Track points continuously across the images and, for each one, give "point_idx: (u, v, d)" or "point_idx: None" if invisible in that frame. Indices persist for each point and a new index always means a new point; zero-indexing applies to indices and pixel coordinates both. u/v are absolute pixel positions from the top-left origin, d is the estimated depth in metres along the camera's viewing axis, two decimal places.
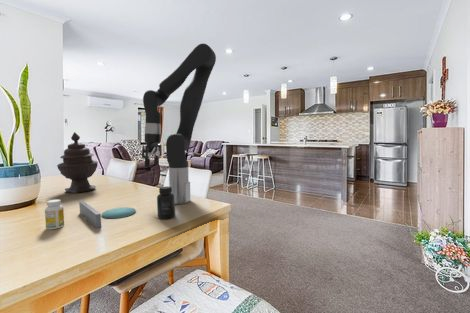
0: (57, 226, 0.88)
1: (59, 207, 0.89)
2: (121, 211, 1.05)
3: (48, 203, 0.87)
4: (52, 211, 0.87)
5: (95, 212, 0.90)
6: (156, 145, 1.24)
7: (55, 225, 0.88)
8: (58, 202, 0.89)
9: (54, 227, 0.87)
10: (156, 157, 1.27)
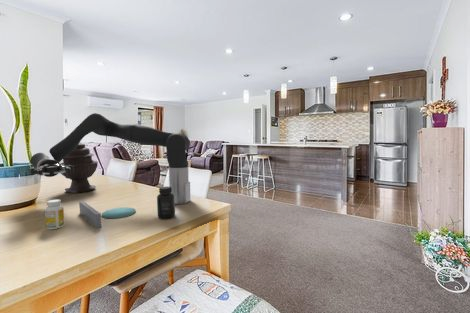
0: (57, 226, 0.88)
1: (59, 207, 0.89)
2: (121, 211, 1.05)
3: (48, 203, 0.87)
4: (52, 211, 0.87)
5: (95, 212, 0.90)
6: None
7: (55, 225, 0.88)
8: (58, 202, 0.89)
9: (54, 227, 0.87)
10: (65, 169, 1.03)
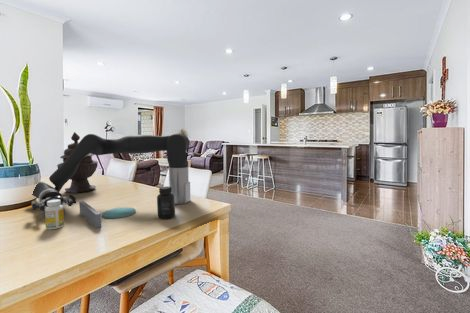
0: (57, 226, 0.88)
1: (59, 207, 0.89)
2: (121, 211, 1.05)
3: (48, 203, 0.87)
4: (52, 211, 0.87)
5: (95, 212, 0.90)
6: None
7: (55, 225, 0.88)
8: (58, 202, 0.89)
9: (54, 227, 0.87)
10: (67, 201, 1.01)
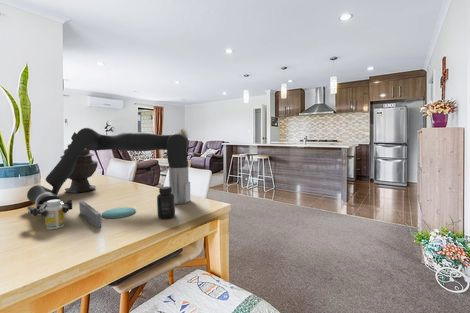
0: (57, 226, 0.88)
1: (59, 207, 0.89)
2: (121, 211, 1.05)
3: (48, 203, 0.87)
4: (52, 211, 0.87)
5: (95, 212, 0.90)
6: None
7: (55, 225, 0.88)
8: (58, 202, 0.88)
9: (54, 227, 0.87)
10: None
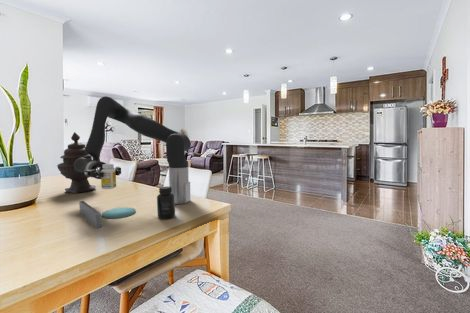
0: (111, 186, 0.99)
1: (113, 170, 1.00)
2: (121, 211, 1.05)
3: (104, 166, 0.98)
4: (108, 173, 0.98)
5: (95, 212, 0.90)
6: None
7: (110, 185, 0.99)
8: (112, 165, 1.00)
9: (109, 187, 0.99)
10: None
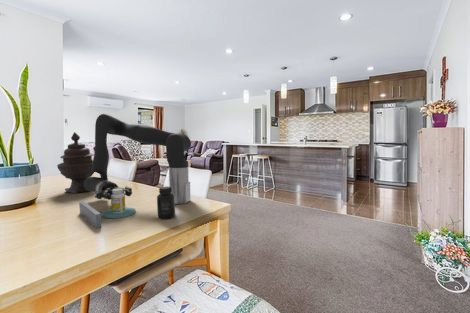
0: (121, 210, 1.03)
1: (122, 195, 1.04)
2: None
3: (114, 191, 1.02)
4: (118, 198, 1.02)
5: (95, 212, 0.90)
6: None
7: (120, 210, 1.03)
8: (121, 190, 1.04)
9: (119, 211, 1.03)
10: (125, 192, 1.08)
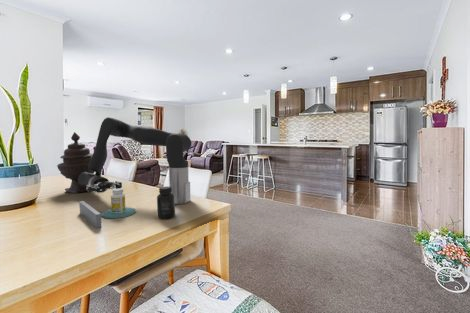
0: (121, 210, 1.03)
1: (122, 195, 1.04)
2: None
3: (114, 191, 1.02)
4: (118, 198, 1.02)
5: (95, 212, 0.90)
6: None
7: (120, 210, 1.03)
8: (122, 190, 1.04)
9: (119, 211, 1.03)
10: (116, 185, 1.18)
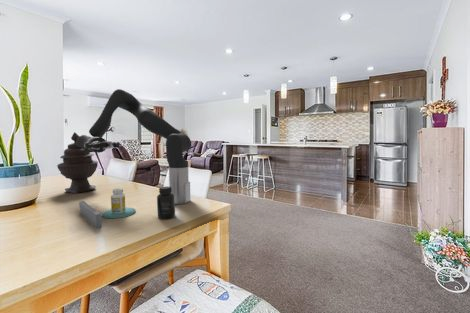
0: (121, 210, 1.03)
1: (122, 195, 1.04)
2: None
3: (114, 191, 1.02)
4: (118, 198, 1.02)
5: (95, 212, 0.90)
6: None
7: (120, 210, 1.03)
8: (122, 190, 1.04)
9: (119, 211, 1.03)
10: (113, 145, 1.18)
